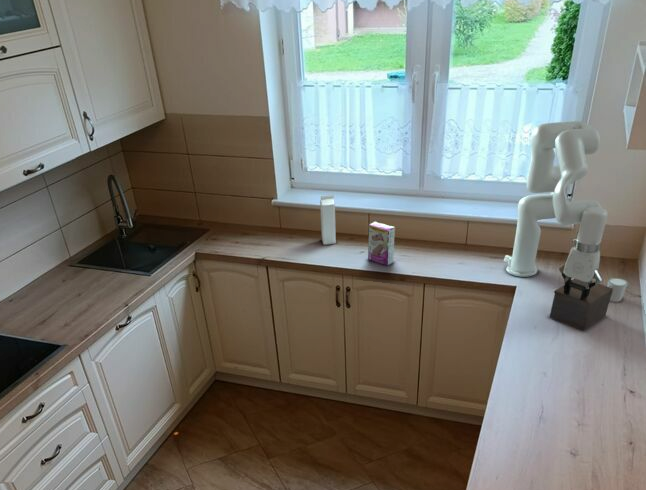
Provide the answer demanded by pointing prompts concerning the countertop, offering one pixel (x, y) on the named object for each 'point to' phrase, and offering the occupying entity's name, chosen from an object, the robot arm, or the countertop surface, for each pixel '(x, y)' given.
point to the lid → (577, 290)
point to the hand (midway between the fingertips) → (575, 294)
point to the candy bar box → (381, 243)
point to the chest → (579, 311)
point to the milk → (328, 219)
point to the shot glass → (617, 288)
